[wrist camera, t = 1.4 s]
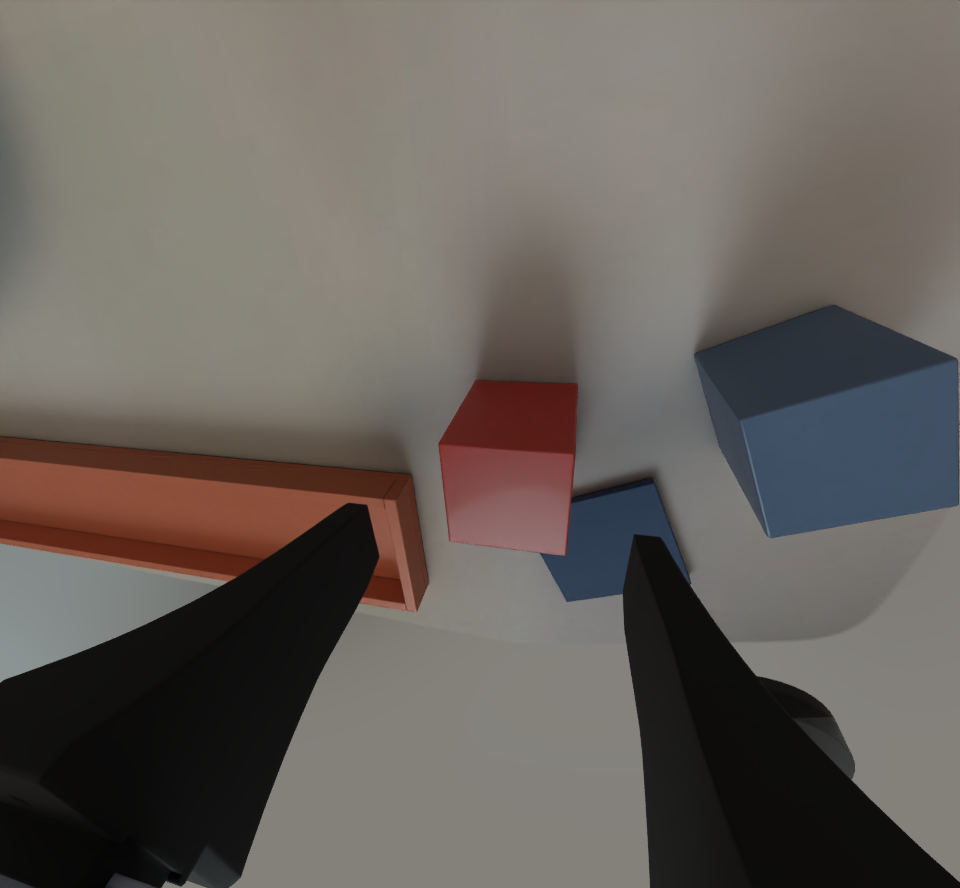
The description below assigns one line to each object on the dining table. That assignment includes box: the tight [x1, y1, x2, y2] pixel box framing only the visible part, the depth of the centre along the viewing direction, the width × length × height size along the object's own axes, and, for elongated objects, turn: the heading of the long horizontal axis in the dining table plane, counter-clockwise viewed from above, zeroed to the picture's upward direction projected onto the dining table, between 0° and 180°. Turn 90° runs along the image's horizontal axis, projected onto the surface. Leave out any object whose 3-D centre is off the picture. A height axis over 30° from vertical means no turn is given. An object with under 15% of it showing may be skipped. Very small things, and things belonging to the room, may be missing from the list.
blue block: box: [694, 305, 959, 538], centre depth 12 cm, size 4×4×5 cm
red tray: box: [0, 437, 429, 612], centre depth 25 cm, size 41×8×2 cm, turn 93°
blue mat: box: [540, 478, 691, 602], centre depth 19 cm, size 6×6×1 cm
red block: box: [439, 380, 578, 556], centre depth 15 cm, size 4×4×5 cm
